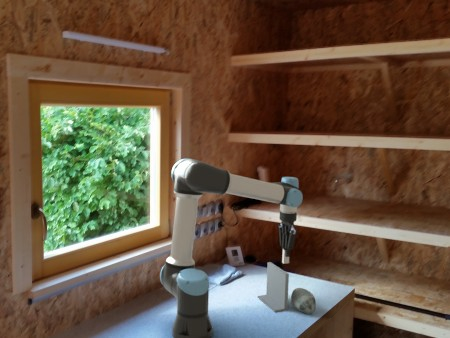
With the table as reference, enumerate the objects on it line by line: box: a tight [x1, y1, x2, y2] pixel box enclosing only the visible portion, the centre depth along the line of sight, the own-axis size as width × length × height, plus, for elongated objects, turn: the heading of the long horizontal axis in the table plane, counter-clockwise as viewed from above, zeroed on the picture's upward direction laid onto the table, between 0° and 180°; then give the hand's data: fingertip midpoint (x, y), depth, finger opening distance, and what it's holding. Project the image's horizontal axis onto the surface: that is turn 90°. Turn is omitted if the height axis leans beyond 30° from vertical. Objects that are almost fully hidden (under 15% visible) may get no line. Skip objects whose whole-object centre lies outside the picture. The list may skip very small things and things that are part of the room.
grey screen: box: [257, 261, 290, 313], centre depth 201 cm, size 6×16×16 cm, turn 23°
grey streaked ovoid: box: [290, 287, 317, 315], centre depth 197 cm, size 14×10×10 cm
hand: (285, 262), depth 209 cm, fingers closed
